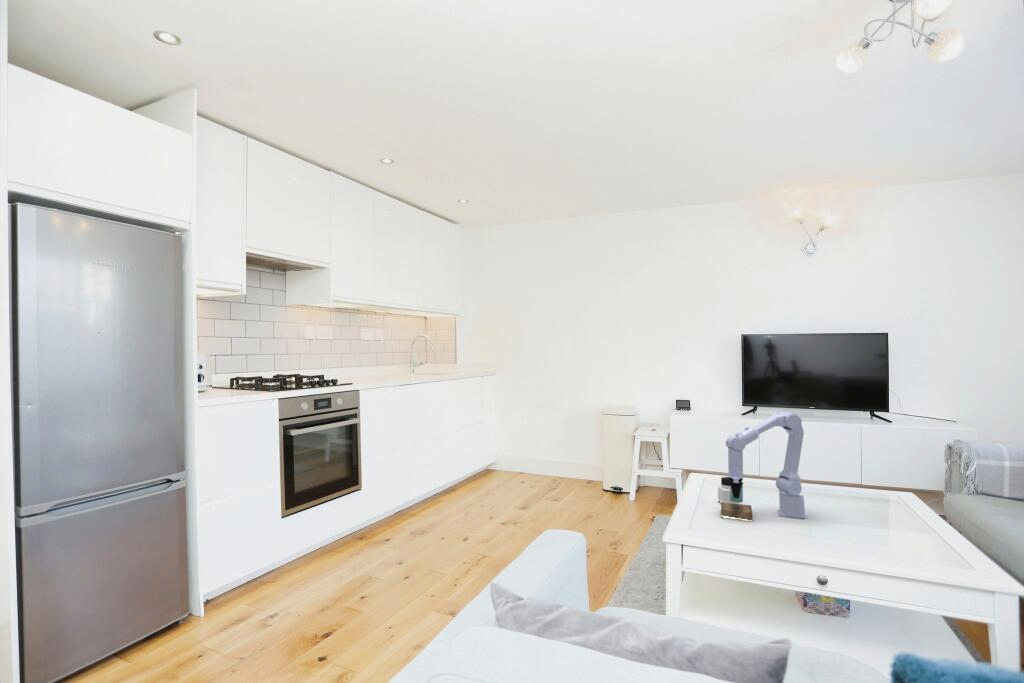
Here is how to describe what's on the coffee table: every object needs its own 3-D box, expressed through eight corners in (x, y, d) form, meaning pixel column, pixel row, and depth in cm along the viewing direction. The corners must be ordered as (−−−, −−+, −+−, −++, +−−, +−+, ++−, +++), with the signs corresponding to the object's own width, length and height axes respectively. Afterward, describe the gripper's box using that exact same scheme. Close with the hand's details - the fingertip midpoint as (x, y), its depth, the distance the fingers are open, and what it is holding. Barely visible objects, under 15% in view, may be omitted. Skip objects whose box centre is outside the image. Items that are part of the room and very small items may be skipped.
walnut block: (751, 514, 223) (751, 505, 223) (752, 522, 212) (752, 512, 212) (721, 511, 228) (721, 502, 228) (721, 519, 217) (721, 509, 217)
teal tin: (742, 500, 222) (742, 484, 222) (742, 503, 217) (742, 487, 217) (730, 498, 224) (730, 483, 224) (729, 501, 219) (730, 486, 219)
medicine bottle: (739, 505, 235) (739, 479, 236) (723, 505, 235) (723, 479, 236) (733, 501, 242) (732, 475, 243) (717, 501, 242) (717, 475, 243)
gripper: (725, 460, 229) (725, 491, 229) (725, 466, 216) (725, 499, 215) (742, 461, 226) (743, 492, 226) (743, 468, 213) (744, 501, 212)
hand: (736, 496), depth 220 cm, fingers closed on teal tin, 5 cm apart
